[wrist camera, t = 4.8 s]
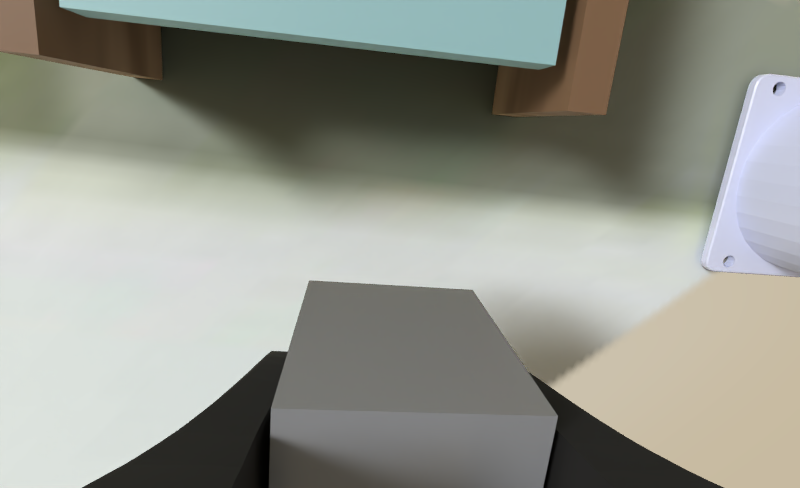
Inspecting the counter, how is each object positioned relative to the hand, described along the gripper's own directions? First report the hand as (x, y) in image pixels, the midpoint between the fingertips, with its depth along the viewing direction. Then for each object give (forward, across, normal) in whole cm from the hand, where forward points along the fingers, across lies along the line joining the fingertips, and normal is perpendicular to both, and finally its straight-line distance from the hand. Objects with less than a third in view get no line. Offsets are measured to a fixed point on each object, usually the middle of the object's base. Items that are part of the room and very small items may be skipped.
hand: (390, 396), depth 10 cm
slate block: (+2, 0, 0) cm, 2 cm away
